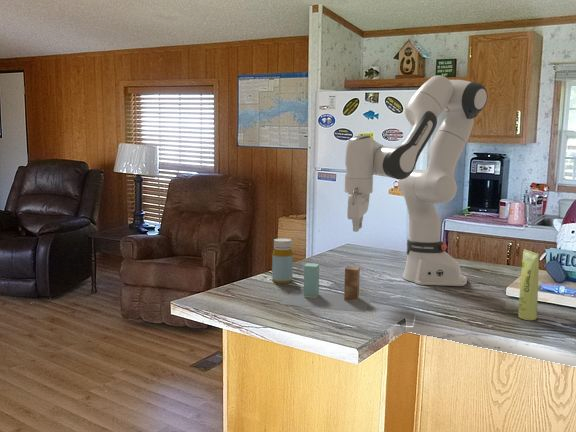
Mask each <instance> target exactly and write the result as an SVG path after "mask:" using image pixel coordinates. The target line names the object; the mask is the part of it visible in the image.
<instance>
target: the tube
mask: <svg viewBox="0 0 576 432" xmlns="http://www.w3.org/2000/svg"><path fill="white" fill-rule="evenodd" d="M539 257H540V253H536V252H533V251H531V250H527V249H525V248H523V252H522V263H521V273H520V283H519V284H520V286H519V295H518V296H519V299H518V313H517V315H518V318H519V319H521V320H525V321H534V320H536V319H538V318H537V317H538V297H539V271H540V270H539V266H540V260H539Z"/></svg>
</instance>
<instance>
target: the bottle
mask: <svg viewBox="0 0 576 432" xmlns="http://www.w3.org/2000/svg"><path fill="white" fill-rule="evenodd" d="M292 243H293V240H292V238H287V237H283V238H282V237H278V238H275V239H273V250H272V258H271V259H272V263H271V264H272V265H271V266H272V269H271V270H272V272H271V274H272V275H271V276H272V278H271V279H272V282H273V283H276V284H288V283H289V284H290V283H291V282H292V281H293V266H294V265H293V260H294V254H293V249H292Z"/></svg>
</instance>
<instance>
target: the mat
mask: <svg viewBox="0 0 576 432" xmlns="http://www.w3.org/2000/svg"><path fill="white" fill-rule="evenodd" d="M372 300H373V297H372V296H363V295H362V296H360V295H359V299H358V300H357V301H347V300H344V294H339V293H327V292H319V295H318V296H317V297H316V298H313V297H304V290H292V291H291V292H290V293H289V294H288V295H287V296H286V297H284V299H283V300H282V301H281V302H280V303H279V305H285V306H292V307H293V306H296V307H305V308H316V309H324V310H325V309H328V310H337V311H347V312H348V311H349V312H360V313H366V312H367V310H368V307H369V305H370V303H371V302H372Z"/></svg>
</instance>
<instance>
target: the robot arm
mask: <svg viewBox="0 0 576 432" xmlns="http://www.w3.org/2000/svg"><path fill="white" fill-rule="evenodd" d="M487 101H488V91H487V88H486V86H485V85H483V84H481V83H479V82H477V81H469V80H464V79H449V78H447V77H446V76H444V75H441V74H439V75H438V74H437V75H433V76H432V77H430V78H429V79H428V80H426V81H425V82H424V83H423V84H422V85H421V86H420V87H419V88H418V89H417V90H416V91H415V92H414V94H413V95H412V96H411V97H410V99H409V100H408V102H407V103H406V105H405V108H404V114H405V118H406V120H407V122H409V124H410V125H411V126H412V130H411V131H410V133H409V134H408V135H407V137H406V139H405V141H404V142H402V143H401V144H399V145H396V146H388V145H387V146H385V145H383V144H381V143H379V142H378V141H376V140H374V139H373V136H371V135H369V134H368V135H366V134H363V135H356V136H352V137H350V138H349V139H348V141H347V144H346V149H345V167H346V172H345V175H344V192H345V193H347V194H348V197H347V199H348V200H347V210H346V211H347V220H351V221H352V222H351V223H352V231H353V232H354V233H355V232H359V231H360V230H361V229H362V228H363V221H364V215H366V213H367V212H368V211H369V206H370V205H369V204H370V195H371V194H372V193H373V189H374V188H373V187H374V186H373V185H374V176H379V177H386V178H392V179H395V180H399V181H398V189H399V192H400V193H401V194H402V196H403V198H404V200H405V205H406V207H407V214H408V238H407V240H406V262H405V267H404V270H403V273H402V278H403V279H404V280H405V281H408V282H412V283H414V284H415V283H416V284H418V285H424V286H426V285H427V286H449V287H450V286H455V287H462V286H465V285H467V283H468V278H467V277H466V276H465V275H464V274H462V269H461V266H460V263H459V262H458V261H457V260H456V259H455V258H453V257H452V256H451V255H450V254H449V253H447V252H446V251H447V248H448V246H447V243H445V242H444V241H442V240H441V230H442V229H441V228H442V220H441V219H442V218H441V217H440V215H439V213H438V212H437V210H436V207H435V204H436V205H437V204H446V203H449V202H451V201H452V200H453V199H454V198H455V197H456V195H457V190H458V185H457V182H456V179H455V173H456V172H455V170H456V168H457V167H456V166H457V164H458V161H459V159H460V157H461V155H462V153H463V151H464V149H465V146H467V145H466V144H468V143H467V142H468V141H469V138H470V136H471V134H472V131H473V126H474V121H475V120H474V119H475V118H476V117H478V115H479V114H480V113H481V112H482V111H483V109H484V108H485V107H486V105H487ZM443 111H445V112H446V114H445V115H446V116H445V118H444V119H443V120H442V122H441V124H440V126H439V127H438V129H437V131H436V133H435V134H434V132H435V130H436V127H437V124H438V118H439V117H440V116H441V114H442V113H443ZM433 134H434V136H433V138H432V141H431V143H430V145H429V147H428V148H427V157H428V158H429V160H428V164H427V165H428V166H427V168H426V169H425V170H423V169H415V168H416V165H417V162H418V160H419V157H420V155H421V153H422V151H423V150H424V148H425V147H426V145H427V143H428V142H429V140H430V138H431V137H432V135H433Z"/></svg>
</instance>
